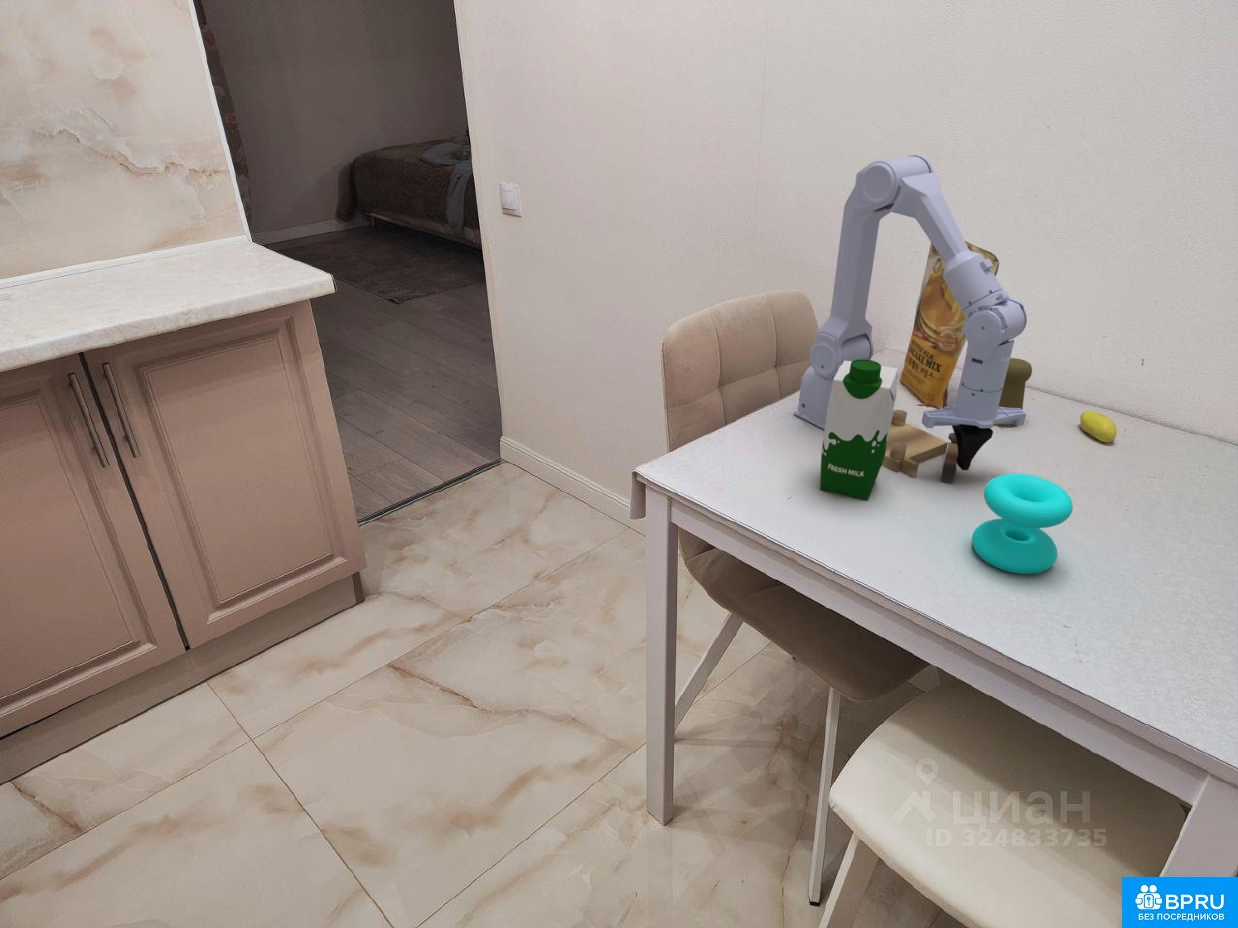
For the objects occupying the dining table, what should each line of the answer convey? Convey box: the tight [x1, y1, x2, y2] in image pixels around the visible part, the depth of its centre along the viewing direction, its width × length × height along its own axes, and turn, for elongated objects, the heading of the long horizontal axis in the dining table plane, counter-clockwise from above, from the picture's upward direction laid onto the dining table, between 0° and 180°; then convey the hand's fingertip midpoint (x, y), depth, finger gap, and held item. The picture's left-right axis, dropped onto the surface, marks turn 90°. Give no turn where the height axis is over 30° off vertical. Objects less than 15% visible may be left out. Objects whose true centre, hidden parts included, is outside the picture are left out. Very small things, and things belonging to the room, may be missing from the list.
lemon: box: [1079, 410, 1118, 443], centre depth 131 cm, size 4×8×4 cm, turn 179°
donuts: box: [971, 473, 1073, 575], centre depth 100 cm, size 10×10×10 cm
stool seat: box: [881, 409, 957, 478], centre depth 126 cm, size 13×13×4 cm
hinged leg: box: [940, 441, 958, 483], centre depth 121 cm, size 9×2×2 cm, turn 156°
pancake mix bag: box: [900, 240, 1000, 409], centre depth 141 cm, size 7×19×28 cm, turn 6°
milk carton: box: [819, 359, 898, 501], centre depth 113 cm, size 9×9×20 cm
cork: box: [993, 357, 1033, 429], centre depth 135 cm, size 6×6×11 cm
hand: (962, 467), depth 120 cm, fingers closed, pressing on hinged leg
